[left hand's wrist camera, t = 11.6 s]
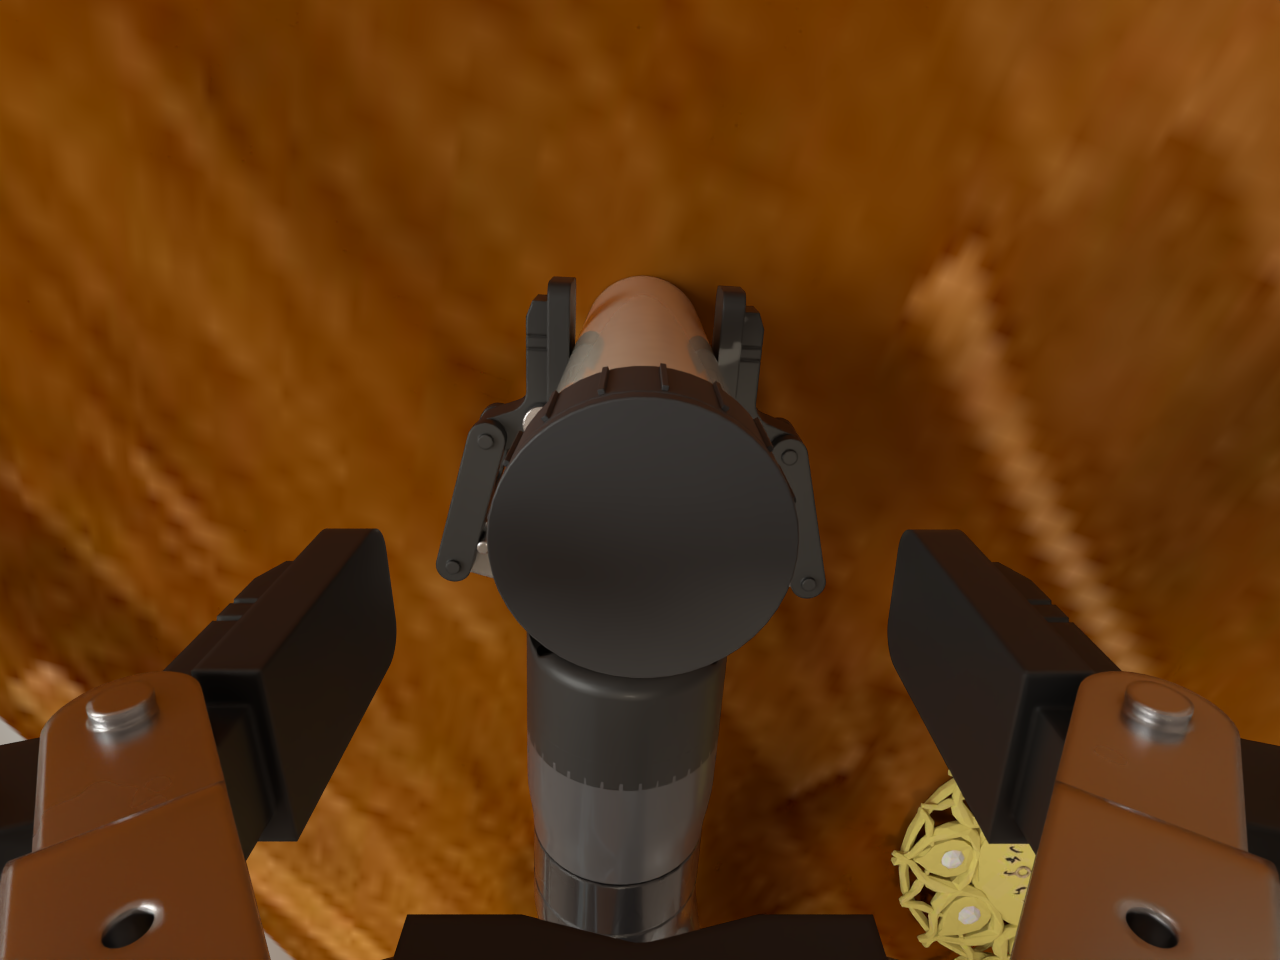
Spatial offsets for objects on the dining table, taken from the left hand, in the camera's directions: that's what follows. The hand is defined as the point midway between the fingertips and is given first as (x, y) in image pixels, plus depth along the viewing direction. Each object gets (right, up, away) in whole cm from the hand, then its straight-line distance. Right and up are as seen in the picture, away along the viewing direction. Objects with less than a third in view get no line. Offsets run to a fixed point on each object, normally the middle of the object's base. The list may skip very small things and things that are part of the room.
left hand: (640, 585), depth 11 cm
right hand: (0, +8, +12) cm, 14 cm away
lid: (0, +1, +2) cm, 2 cm away
